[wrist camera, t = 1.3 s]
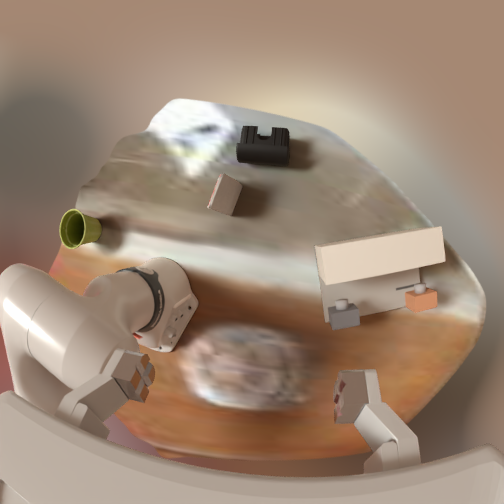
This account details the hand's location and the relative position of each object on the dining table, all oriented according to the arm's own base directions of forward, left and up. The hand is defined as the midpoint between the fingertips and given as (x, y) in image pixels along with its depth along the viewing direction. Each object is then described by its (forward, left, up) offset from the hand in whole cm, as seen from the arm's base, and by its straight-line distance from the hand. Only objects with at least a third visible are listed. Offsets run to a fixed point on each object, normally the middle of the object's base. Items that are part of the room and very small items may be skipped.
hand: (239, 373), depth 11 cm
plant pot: (-9, +48, -48) cm, 68 cm away
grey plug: (-3, -13, -42) cm, 44 cm away
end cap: (+21, +12, -48) cm, 54 cm away
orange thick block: (+5, -27, -42) cm, 51 cm away
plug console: (+5, -18, -48) cm, 51 cm away
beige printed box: (+9, +16, -48) cm, 51 cm away
